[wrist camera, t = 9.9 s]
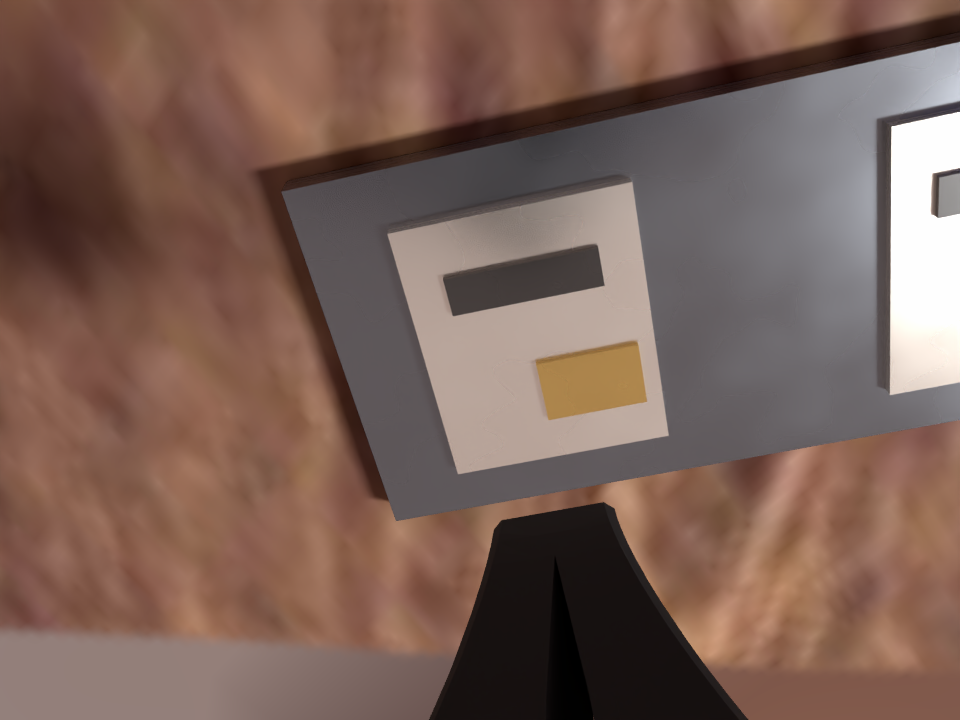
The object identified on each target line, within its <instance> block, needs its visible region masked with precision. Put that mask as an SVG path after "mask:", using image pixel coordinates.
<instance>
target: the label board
mask: <svg viewBox="0 0 960 720" xmlns="http://www.w3.org/2000/svg"><path fill="white" fill-rule="evenodd" d="M282 195H283V198H284V201H285V204H286V207H287V209H288V212H289V215H290V218H291V221H292V224H293V227H294V230H295V232H296V235H297V238H298V241H299V244H300V247H301V250H302V252H303V255H304V258H305V261H306V264H307V267H308V270H309V273H310V275H311V278H312V281H313V284H314V287H315V290H316V293H317V296H318V298H319V301H320V304H321V307H322V310H323V313H324V316H325V318H326V321H327V324H328V327H329V330H330V333H331V336H332V339H333V341H334V344H335V347H336V350H337V353H338V356H339V359H340V362H341V364H342V367H343V370H344V373H345V376H346V379H347V382H348V384H349V387H350V390H351V393H352V396H353V399H354V402H355V405H356V407H357V410H358V413H359V416H360V419H361V422H362V425H363V428H364V430H365V433H366V436H367V439H368V442H369V445H370V448H371V450H372V453H373V456H374V459H375V462H376V465H377V468H378V471H379V473H380V476H381V479H382V482H383V485H384V488H385V491H386V494H387V496H388V499H389V502H390V505H391V508H392V511H393V514H394V516H395V519H396V521H399V520H404V519H410V518H415V517H421V516H427V515H432V514H438V513H443V512H449V511H454V510H460V509H466V508H471V507H477V506H482V505H488V504H493V503H499V502H505V501H510V500H516V499H521V498H527V497H533V496H538V495H544V494H549V493H555V492H560V491H566V490H572V489H577V488H583V487H588V486H594V485H599V484H605V483H611V482H616V481H622V480H627V479H633V478H639V477H644V476H650V475H655V474H661V473H666V472H672V471H678V470H683V469H689V468H694V467H700V466H705V465H711V464H717V463H722V462H728V461H733V460H739V459H745V458H750V457H756V456H761V455H767V454H772V453H778V452H784V451H789V450H795V449H800V448H806V447H811V446H817V445H823V444H828V443H834V442H839V441H845V440H851V439H856V438H862V437H867V436H873V435H878V434H884V433H890V432H895V431H901V430H906V429H912V428H917V427H923V426H929V425H934V424H940V423H945V422H951V421H957V420H960V32H958V33H953V34H949V35H944V36H940V37H935V38H931V39H926V40H922V41H917V42H913V43H908V44H904V45H899V46H895V47H890V48H886V49H881V50H877V51H872V52H868V53H863V54H859V55H854V56H850V57H845V58H841V59H836V60H832V61H827V62H823V63H818V64H814V65H809V66H805V67H800V68H796V69H791V70H787V71H782V72H777V73H773V74H768V75H764V76H759V77H755V78H750V79H746V80H741V81H737V82H732V83H728V84H723V85H719V86H714V87H710V88H705V89H701V90H696V91H692V92H687V93H683V94H678V95H674V96H669V97H665V98H660V99H656V100H651V101H647V102H642V103H638V104H633V105H629V106H624V107H620V108H615V109H611V110H606V111H602V112H597V113H593V114H588V115H584V116H579V117H575V118H570V119H566V120H561V121H557V122H552V123H548V124H543V125H539V126H534V127H530V128H525V129H521V130H516V131H512V132H507V133H503V134H498V135H493V136H489V137H484V138H480V139H475V140H471V141H466V142H462V143H457V144H453V145H448V146H444V147H439V148H435V149H430V150H426V151H421V152H417V153H412V154H408V155H403V156H399V157H394V158H390V159H385V160H381V161H376V162H372V163H367V164H363V165H358V166H354V167H349V168H345V169H340V170H336V171H331V172H327V173H322V174H318V175H313V176H309V177H304V178H300V179H295V180H291V181H287V182H286V184H285V186H284V188H283V190H282Z"/></svg>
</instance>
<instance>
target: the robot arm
mask: <svg viewBox="0 0 960 720" xmlns="http://www.w3.org/2000/svg"><path fill="white" fill-rule="evenodd" d="M593 716H594V719H593ZM429 720H748V719H747V718H746V716H745V715H744V714H743V713H742V712H741V710H740V709H739V708H738V707H737V705H736V704H735V703H734V702H733V701H732V699H731V698H730V697H729V696H728V694H727V693H726V692H725V690H724V689H723V688H722V686H721V685H720V684H719V683H718V681H717V680H716V679H715V677H714V676H713V675H712V674H711V672H710V671H709V670H708V668H707V667H706V666H705V664H704V663H703V662H702V660H701V659H700V658H699V656H698V655H697V654H696V652H695V651H694V649H693V648H692V647H691V645H690V644H689V643H688V641H687V640H686V638H685V637H684V635H683V634H682V632H681V631H680V629H679V628H678V626H677V625H676V623H675V622H674V620H673V619H672V617H671V616H670V614H669V613H668V611H667V610H666V608H665V607H664V606H663V604H662V603H661V601H660V599H659V598H658V596H657V595H656V593H655V591H654V590H653V588H652V587H651V585H650V583H649V582H648V580H647V578H646V576H645V575H644V573H643V571H642V569H641V567H640V566H639V564H638V562H637V560H636V559H635V557H634V555H633V553H632V551H631V549H630V547H629V545H628V543H627V541H626V539H625V536H624V534H623V532H622V529H621V527H620V524H619V522H618V519H617V516H616V512H615V509H614V508H613V507H611V506H609V505H607V504H606V503H604V502H603V503H597V504H591V505H586V506H580V507H574V508H569V509H563V510H557V511H552V512H546V513H540V514H535V515H529V516H524V517H518V518H512V519H507V520H501V522H500V523H499V524H498V525H497V527H496V528H495V529H494V533H493V538H492V543H491V548H490V552H489V556H488V560H487V564H486V568H485V571H484V575H483V578H482V582H481V585H480V588H479V591H478V595H477V598H476V601H475V604H474V607H473V610H472V613H471V616H470V619H469V622H468V624H467V627H466V630H465V633H464V635H463V638H462V641H461V643H460V646H459V649H458V652H457V654H456V657H455V660H454V663H453V665H452V668H451V670H450V673H449V675H448V678H447V680H446V682H445V685H444V687H443V689H442V691H441V694H440V696H439V698H438V701H437V703H436V705H435V707H434V710H433V712H432V715H431V717H430V719H429Z"/></svg>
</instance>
